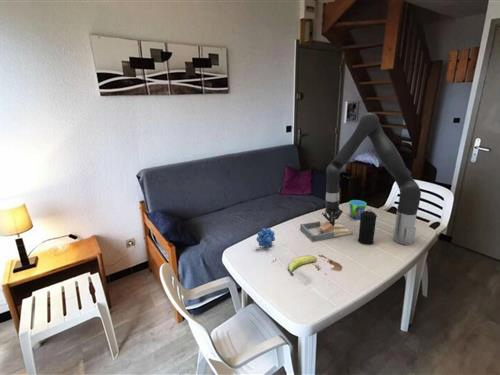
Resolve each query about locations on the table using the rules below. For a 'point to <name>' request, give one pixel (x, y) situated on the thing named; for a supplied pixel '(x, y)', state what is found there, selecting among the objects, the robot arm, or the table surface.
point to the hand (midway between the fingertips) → (332, 226)
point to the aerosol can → (367, 227)
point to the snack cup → (357, 208)
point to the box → (314, 238)
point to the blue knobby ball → (265, 237)
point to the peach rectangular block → (326, 227)
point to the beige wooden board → (340, 230)
